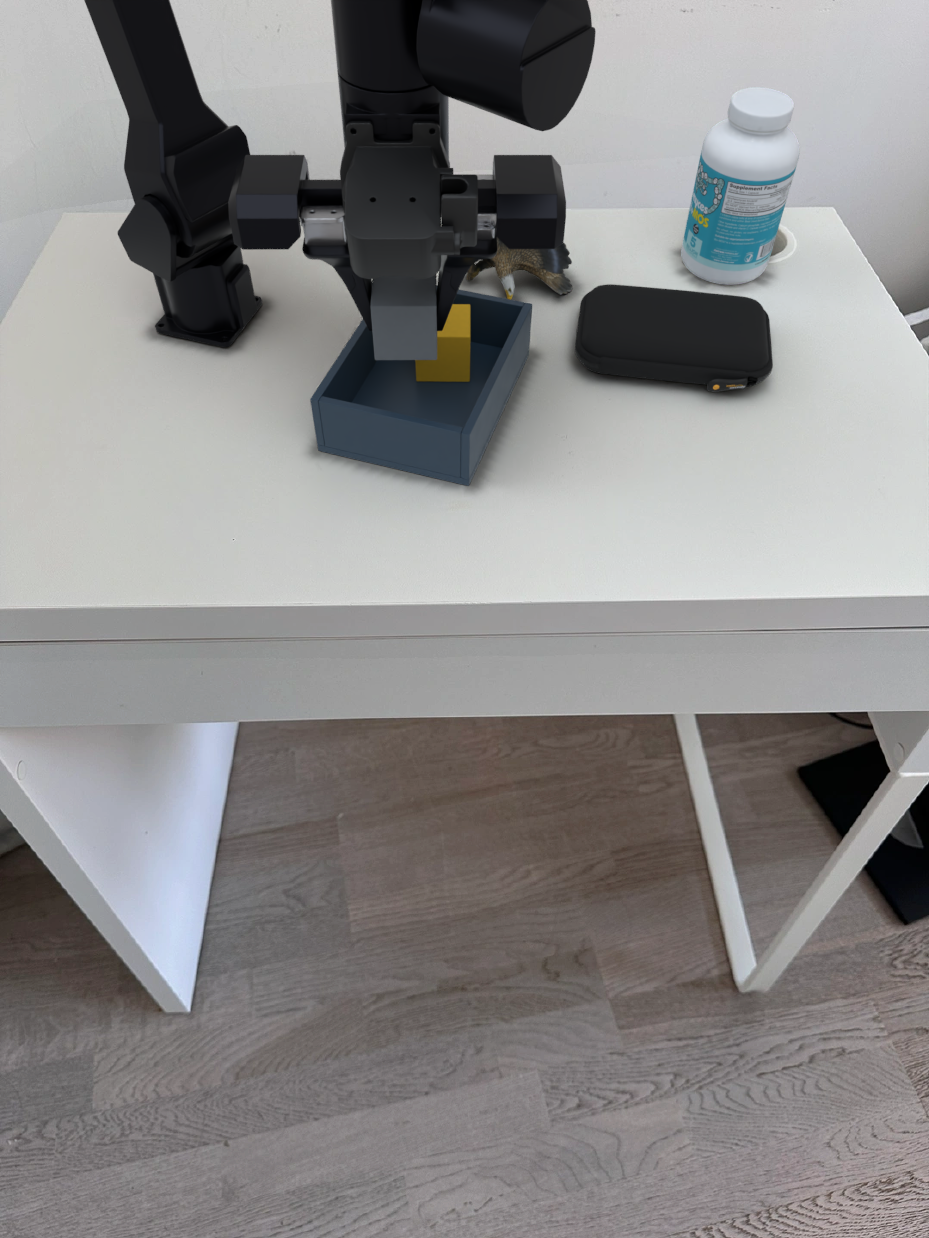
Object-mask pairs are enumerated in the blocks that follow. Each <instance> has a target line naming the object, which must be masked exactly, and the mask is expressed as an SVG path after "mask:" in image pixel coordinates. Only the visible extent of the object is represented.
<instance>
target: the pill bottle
mask: <svg viewBox="0 0 929 1238" xmlns="http://www.w3.org/2000/svg"><path fill="white" fill-rule="evenodd" d="M794 107H795V103H794V100H793V99H792V97H791V96H789V95H788V94H787V93H785V92H783V91H781V90H778V89H773V88H771V87H763V86H751V87H745V88H741V89H738V90H737V91H736V92H733V94H732V96H731V97H730V100H729V105H728V109H727V118H724V119H722V120H720V121H718V122H717V123H715V124H714V125H713V126H712V127H710V129H709V130H708V131H707V132H706V134H705V136H704V139H703V141H702V146H701V150H700V155H699V159H698V165H697V170H696V175H695V180H694V186H693V189H692V195H691V199H690V204H689V210H688V213H687V220H686V224H685V229H684V234H683V238H682V244H681V249H680V250H681V251H680V255H681V260H682V263H683V265H684V266H685V268H686V269H687V270H688V271H689V272H690V273H691V274H693V275H694V276H696V278H697V277H698V278H699V279H701V280H704V281H706V282H708V283H709V282H710V283H713V284H717V285H726V286H727V285H728V286H730V285H732V286H733V285H740V284H745V283H749V282H751V281H754V280H756V279H757V278H759V277H760V276H761V275H762V274H763V273H764V272H765V270H766V269H767V267H768V265H769V262H770V258H771V255H772V252H773V248H774V245H775V241H776V238H777V234H778V231H779V228H780V224H781V221H782V218H783V214H784V211H785V207H786V204H787V200H788V196H789V194H790V190H791V187H792V186H791V185H792V183H793V181H794V177H795V173H796V170H797V166H798V162H799V159H800V155H801V147H800V145H801V144H800V142H799V139H798V137H797V135H796V133H795V132H794V131H793V130H792V128H790V127H789V125H790V123H791V121H792V117H793V112H794V109H795V108H794Z"/></svg>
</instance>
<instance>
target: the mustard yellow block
mask: <svg viewBox="0 0 929 1238" xmlns="http://www.w3.org/2000/svg"><path fill="white" fill-rule="evenodd" d="M415 363H416V381H417V382H469V381H470V304H453V305H452V307H451V310H450V313H449V315H448V318H447V320H446V323H445V325H444V328H443V330H442V331H437V360H415Z"/></svg>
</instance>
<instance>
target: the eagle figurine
mask: <svg viewBox="0 0 929 1238" xmlns="http://www.w3.org/2000/svg"><path fill="white" fill-rule="evenodd" d="M497 247H498V250H497V254H496V256H495V257H493V258H491V259H482V260H479V261H477V262H476V263H474V264H473V265H472V266H471V267H470V269H469V270H468V272H467V274H466V276H465V277H466V280H467V282H470V281H473V280H474V278H476V277H477V276H478V275H479V274H480V273H481V272H482V271H484V270H488V269H491V268H494V270H495V274H496V275H497V277H498V279H499V281H500V283H501V284H502V286H503V289H504V292H505V294H506V299H511V300H513V296H514V294H515V280H514V272H518V271H522V272H526V273H528V274H529V275H532V276H534V277H535V278H537V279H539V280H540V281H542V282H543V283H544V284H545V285H547V286H548V287H549V288H550V289H551V290H552V291H554V292H555V293H556V294H557V295H559V296H562V295H563V294H564V295H567V294H568V293H571V292H572V291H573V288H574V285H573V284H572V283H571V282H572V281H571V279H570V278H568V277H567V276H566V274H565V273H564V270H568V269H569V267H570V265H572V264H573V261H572V259H571V257H570V254H571V253H570V250H569V249H568V248H567V244H566V243H565V242H563V244H562V245H560V246H559V247H557V248H555V249H509V248H508V247H507V246H506V245H505V244H503V243H502V242H501V241H500V240H499V239H498V238H497Z"/></svg>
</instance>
